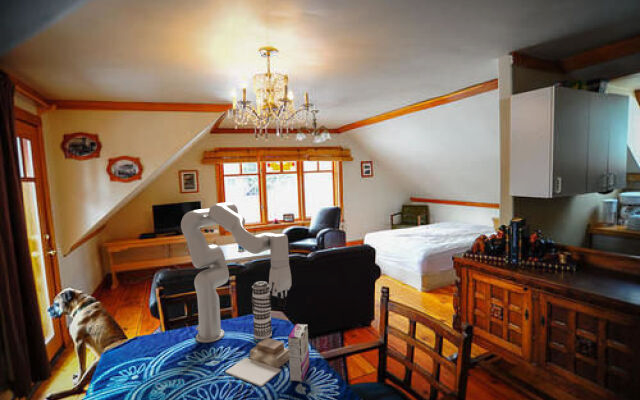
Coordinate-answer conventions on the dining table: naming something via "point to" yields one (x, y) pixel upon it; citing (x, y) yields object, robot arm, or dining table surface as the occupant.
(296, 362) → the candy bar box
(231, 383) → the dining table surface
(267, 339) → the walnut tile
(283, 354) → the birch stand
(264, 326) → the decorative candle
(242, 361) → the off-white mat
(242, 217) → the robot arm
